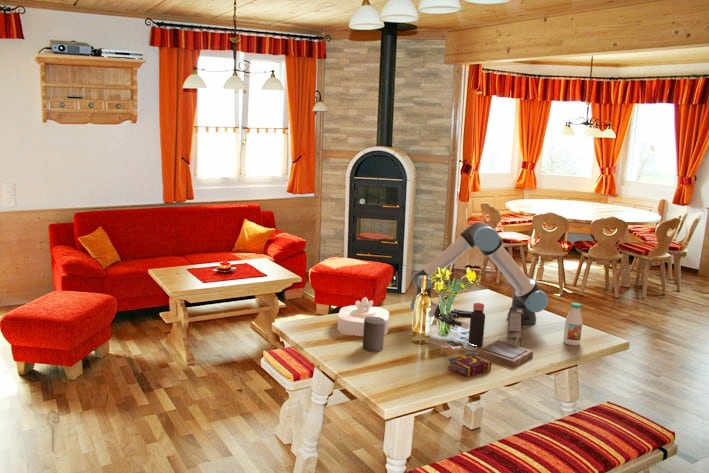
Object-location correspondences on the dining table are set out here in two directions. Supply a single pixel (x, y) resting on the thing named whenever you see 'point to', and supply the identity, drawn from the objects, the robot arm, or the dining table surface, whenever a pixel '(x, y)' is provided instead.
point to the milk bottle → (573, 325)
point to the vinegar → (477, 325)
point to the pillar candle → (373, 334)
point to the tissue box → (360, 317)
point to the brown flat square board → (505, 353)
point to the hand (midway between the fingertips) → (475, 322)
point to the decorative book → (469, 364)
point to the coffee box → (515, 326)
